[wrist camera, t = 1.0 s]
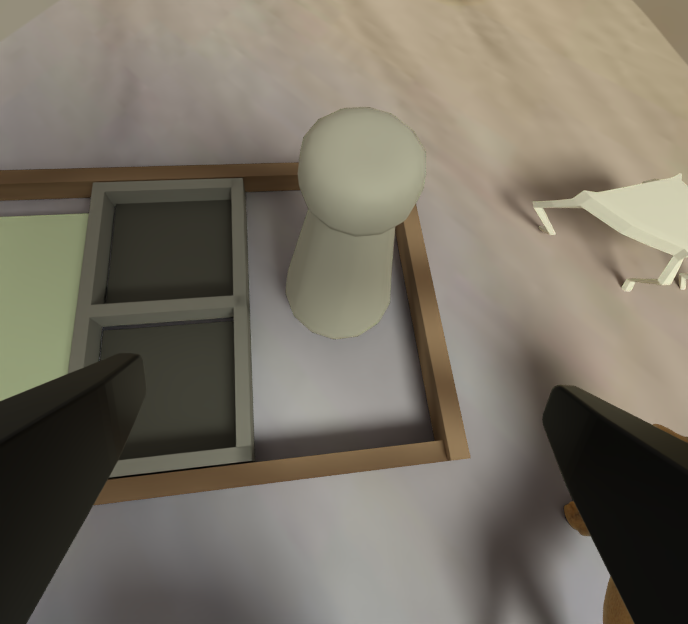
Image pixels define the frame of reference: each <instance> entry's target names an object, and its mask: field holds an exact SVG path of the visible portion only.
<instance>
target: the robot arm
mask: <svg viewBox="0 0 688 624" xmlns="http://www.w3.org/2000/svg"><path fill="white" fill-rule="evenodd" d="M145 395H146V379H145V371H144V362H143V359H142V357H141V356H140V355H139V354H132V353H118V354H116V355H113V356H111V357H108V358H106V359H103V360H101V361H98V362H96V363H93V364H91V365H88V366H86V367H83V368H81V369H78V370H76V371H73V372H71V373H68V374H66V375H64V376H61V377H59V378H56V379H54V380H51V381H49V382H46V383H44V384H41V385H39V386H36V387H34V388H31V389H29V390H26V391H24V392H21V393H19V394H17V395H14V396H12V397H9V398H7V399H4V400H2V401H0V624H26V623H27V622H28V620H29V618H30V616H31V614H32V613H33V611H34V609H35V607H36V606H37V604H38V602H39V600H40V599H41V597H42V595H43V593H44V591H45V590H46V588H47V586H48V584H49V583H50V581H51V579H52V577H53V576H54V574H55V572H56V570H57V568H58V567H59V565H60V563H61V561H62V560H63V558H64V556H65V554H66V553H67V551H68V549H69V547H70V545H71V544H72V542H73V540H74V538H75V537H76V535H77V533H78V531H79V529H80V528H81V526H82V524H83V522H84V521H85V519H86V517H87V515H88V514H89V512H90V510H91V508H92V506H93V505H94V503H95V501H96V499H97V498H98V496H99V494H100V492H101V491H102V489H103V487H104V485H105V483H106V482H107V480H108V478H109V476H110V475H111V473H112V471H113V469H114V467H115V465H116V464H117V462H118V460H119V457H120V455H121V453H122V451H123V448H124V446H125V444H126V441H127V439H128V437H129V434H130V432H131V430H132V427H133V425H134V422H135V420H136V418H137V415H138V413H139V411H140V408H141V406H142V404H143V401H144V399H145ZM542 421H543V426H544V429H545V431H546V434H547V437H548V439H549V442H550V445H551V447H552V450H553V453H554V455H555V458H556V461H557V463H558V466H559V469H560V471H561V474H562V477H563V479H564V481H565V484H566V486H567V488H568V491H569V493H570V495H571V497H572V499H573V501H574V503H575V505H576V507H577V509H578V511H579V513H580V515H581V517H582V519H583V521H584V523H585V525H586V527H587V529H588V531H589V533H590V536H591V538H592V540H593V542H594V544H595V546H596V548H597V550H598V552H599V554H600V556H601V558H602V560H603V562H604V564H605V566H606V568H607V570H608V572H609V574H610V576H611V578H612V580H613V582H614V584H615V586H616V588H617V590H618V592H619V594H620V596H621V598H622V600H623V602H624V604H625V606H626V608H627V610H628V612H629V614H630V616H631V618H632V620H633V622H634V624H688V443H687V442H685V441H683V440H681V439H679V438H677V437H675V436H673V435H671V434H669V433H667V432H665V431H663V430H661V429H659V428H657V427H655V426H653V425H651V424H649V423H647V422H645V421H643V420H642V419H640V418H638V417H636V416H634V415H632V414H630V413H628V412H626V411H624V410H622V409H620V408H618V407H616V406H614V405H612V404H610V403H608V402H606V401H604V400H602V399H600V398H598V397H596V396H594V395H592V394H590V393H588V392H586V391H584V390H582V389H580V388H578V387H576V386H570V385H557V386H555V387H554V388H553V389H552V391H551V394H550V397H549V399H548V402H547V405H546V407H545V410H544V413H543V418H542Z"/></svg>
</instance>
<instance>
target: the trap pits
mask: <svg viewBox="0 0 688 624" xmlns="http://www.w3.org/2000/svg"><path fill="white" fill-rule="evenodd" d="M115 207H116V212H115V221H114V211H115ZM113 221H114V231H113ZM112 231H113V241H112V250H111V240H112ZM110 250H111V260H110V270H109V279H108V289H107V299H106V304H105V297H106V288H107V278H108V269H109V259H110ZM230 317H234V321H226V322H213V323H199V324H186V325H173V326H159V327H146V328H132V329H119V330H106V331H103V337H102V347H101V357H100V361H101V360H103V359H106V358H108V357H111V356H113V355H116V354H118V353H132V354H139V355H140V356H141V357H142V359H143V362H144V371H145V379H146V395H145V399H144V401H143V404H142V406H141V408H140V411H139V413H138V415H137V418H136V420H135V422H134V425H133V427H132V430H131V432H130V434H129V437H128V439H127V441H126V444H125V446H124V448H123V451H122V453H121V455H120V457H119V460H118V462H117V464H116V465H115V467H114V469H113V471H112V473H111V475H110V476H109V478H108V479H112V478H121V477H129V476H138V475H146V474H155V473H163V472H172V471H180V470H189V469H197V468H206V467H214V466H222V465H231V464H239V463H248V462H255V449H254V420H253V391H252V362H251V333H250V304H249V275H248V246H247V217H246V192H245V187H244V183H243V178H224V179H191V180H159V181H127V182H94V183H93V186H92V194H91V201H90V209H89V216H88V224H87V232H86V239H85V247H84V254H83V262H82V270H81V277H80V285H79V292H78V300H77V308H76V315H75V323H74V331H73V338H72V346H71V353H70V361H69V369H68V373H71V372H73V371H76V370H78V369H81V368H83V367H86V366H88V365H91V364H93V363H96V362H98V361H99V355H100V345H101V336H102V327H107V326H121V325H134V324H148V323H161V322H175V321H189V320H202V319H216V318H230Z"/></svg>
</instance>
